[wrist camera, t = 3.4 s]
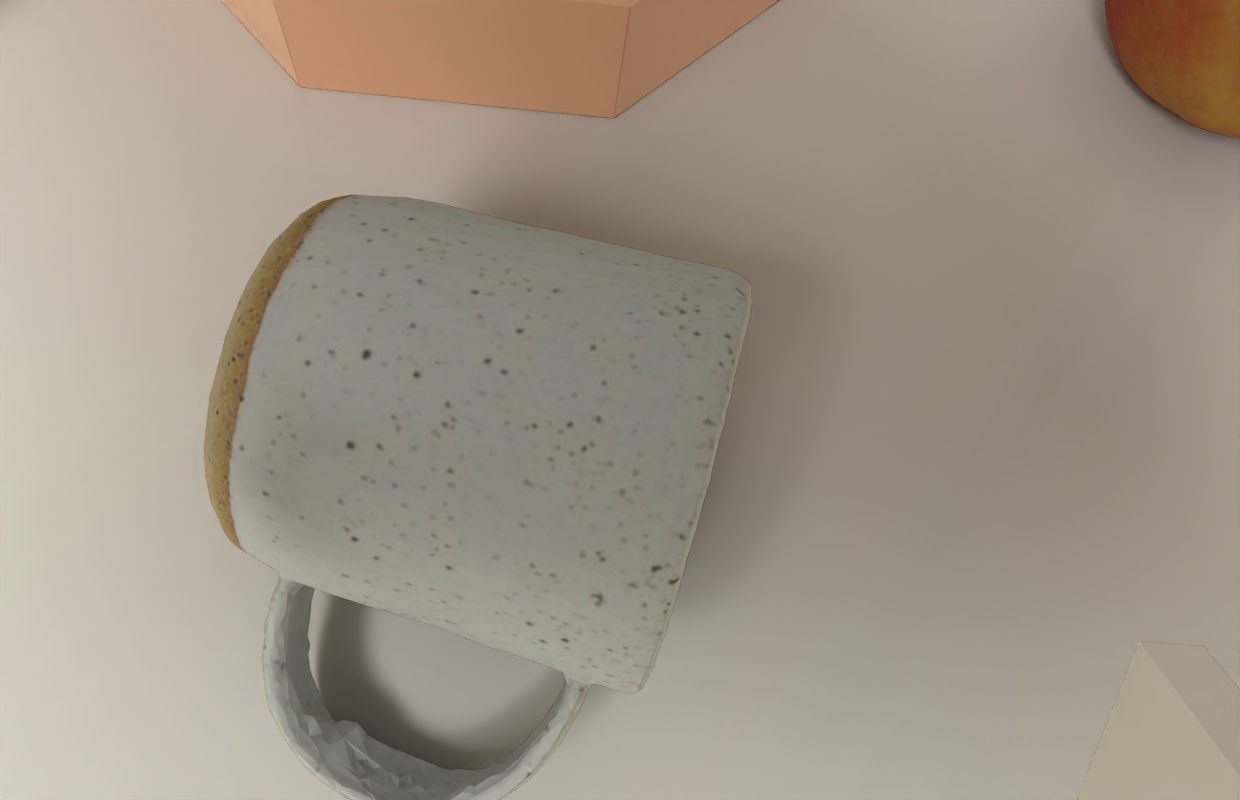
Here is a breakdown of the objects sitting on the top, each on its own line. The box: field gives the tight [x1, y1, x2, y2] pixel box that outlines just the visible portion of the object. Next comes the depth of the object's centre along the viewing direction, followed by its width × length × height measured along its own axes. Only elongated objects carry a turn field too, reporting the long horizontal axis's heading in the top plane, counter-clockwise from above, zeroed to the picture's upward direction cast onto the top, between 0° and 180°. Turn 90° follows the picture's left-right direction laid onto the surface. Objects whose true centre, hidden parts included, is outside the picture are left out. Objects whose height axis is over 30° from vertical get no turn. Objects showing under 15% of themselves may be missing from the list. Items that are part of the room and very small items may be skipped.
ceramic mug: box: [204, 195, 752, 800], centre depth 18 cm, size 11×8×8 cm
